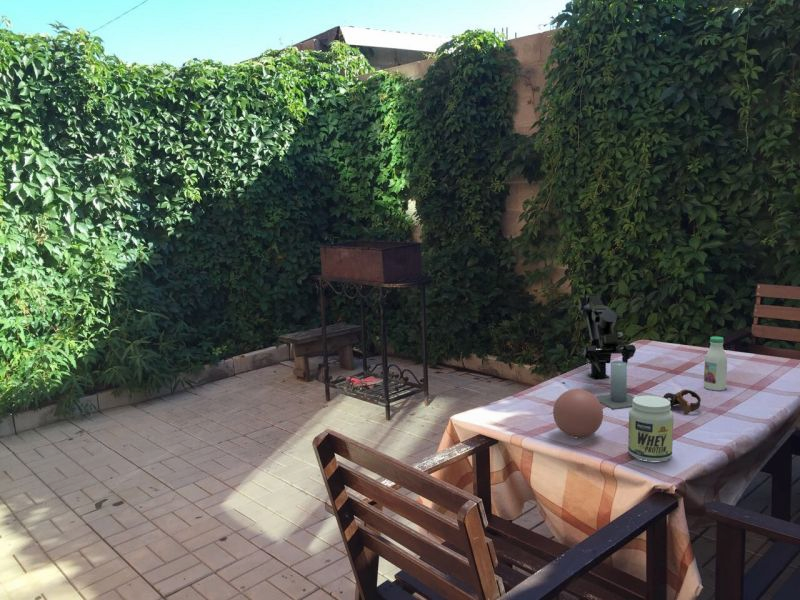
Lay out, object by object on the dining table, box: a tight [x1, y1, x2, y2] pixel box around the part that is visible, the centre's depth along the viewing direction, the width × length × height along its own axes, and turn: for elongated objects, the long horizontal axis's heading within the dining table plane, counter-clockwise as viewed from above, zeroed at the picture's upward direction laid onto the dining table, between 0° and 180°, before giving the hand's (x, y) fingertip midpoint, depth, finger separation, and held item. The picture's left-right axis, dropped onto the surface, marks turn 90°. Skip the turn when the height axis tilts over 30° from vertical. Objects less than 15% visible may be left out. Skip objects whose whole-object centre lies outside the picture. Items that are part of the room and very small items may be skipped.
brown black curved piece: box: [662, 389, 702, 415], centre depth 225 cm, size 12×10×8 cm
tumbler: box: [610, 360, 628, 402], centre depth 236 cm, size 6×6×14 cm
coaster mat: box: [594, 393, 636, 410], centre depth 237 cm, size 14×14×1 cm
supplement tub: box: [627, 395, 674, 462], centre depth 188 cm, size 12×12×17 cm
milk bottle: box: [703, 336, 728, 392], centre depth 245 cm, size 8×8×20 cm
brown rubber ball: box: [552, 388, 604, 439], centre depth 207 cm, size 15×20×15 cm
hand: (613, 371), depth 243 cm, fingers open, 9 cm apart
